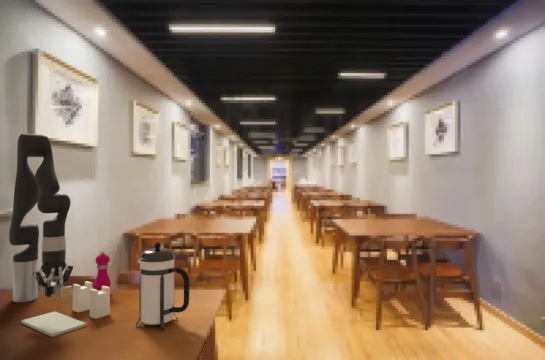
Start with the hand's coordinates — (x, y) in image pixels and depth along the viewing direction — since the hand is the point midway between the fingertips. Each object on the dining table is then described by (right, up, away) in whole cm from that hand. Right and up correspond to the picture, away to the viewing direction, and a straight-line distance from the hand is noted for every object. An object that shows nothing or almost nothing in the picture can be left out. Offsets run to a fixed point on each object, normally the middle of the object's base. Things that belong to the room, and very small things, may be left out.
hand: (53, 295), depth 142 cm
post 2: (+13, -11, +10) cm, 19 cm away
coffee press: (+39, -11, +2) cm, 40 cm away
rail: (0, +1, 0) cm, 1 cm away
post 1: (+3, -11, +16) cm, 20 cm away
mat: (0, -11, 0) cm, 11 cm away
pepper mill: (+1, -11, +38) cm, 39 cm away
